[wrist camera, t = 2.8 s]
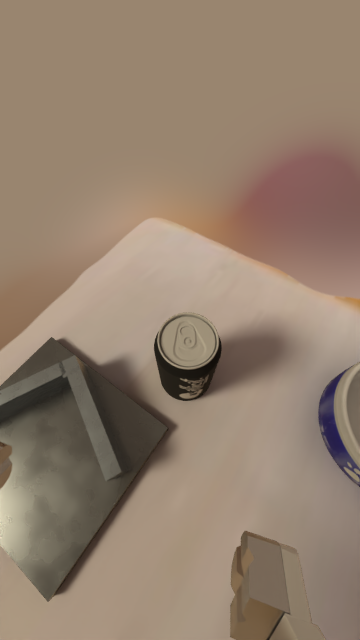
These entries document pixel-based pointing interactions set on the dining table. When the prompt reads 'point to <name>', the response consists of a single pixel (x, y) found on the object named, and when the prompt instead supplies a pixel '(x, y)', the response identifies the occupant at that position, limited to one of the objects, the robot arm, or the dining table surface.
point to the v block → (65, 460)
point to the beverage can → (187, 355)
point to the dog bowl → (343, 421)
